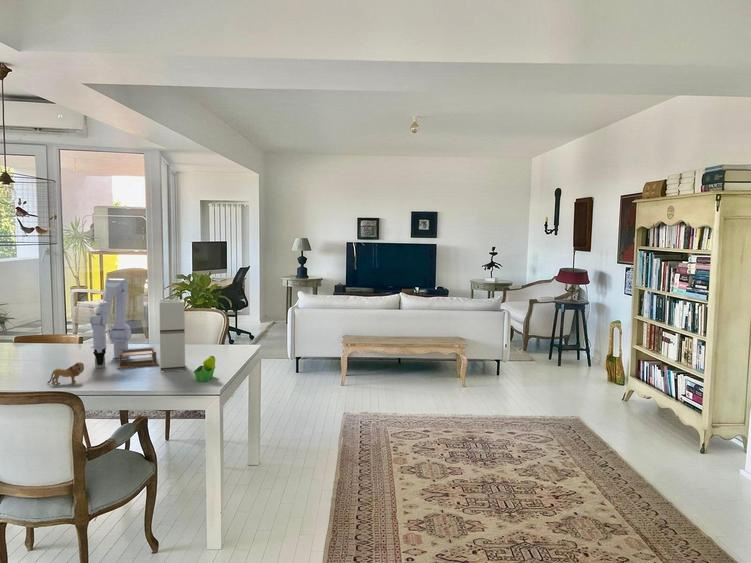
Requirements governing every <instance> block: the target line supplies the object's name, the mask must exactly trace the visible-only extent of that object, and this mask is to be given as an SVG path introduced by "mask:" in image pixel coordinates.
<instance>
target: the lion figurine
mask: <svg viewBox="0 0 751 563" xmlns="http://www.w3.org/2000/svg"><path fill="white" fill-rule="evenodd" d="M84 364H85V363H83V362H80V361H79V362H76V363H75V364H73V365H71V366H69V367H68V368H65V369H64V368H63V369H62V368H56V369H54V370H53V371H52V372H51V376H50V379H49V380H48V381H47V383H46V384H50V383H53V384H55V383H56V385H61V382H59V378H60V376H61V377H63V378H71V383H72V384H76V382H77V381H76V380H75V378H76V377H78V376H80V374H82V373H83V372H84V371H85V366H84Z"/></svg>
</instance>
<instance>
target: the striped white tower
mask: <svg viewBox="0 0 751 563" xmlns="http://www.w3.org/2000/svg"><path fill="white" fill-rule="evenodd" d="M185 327H186V326H185V299H160V300H159V341H160V342H159V347H160V348H159V350H160V351H159V354H160V357H159V359H160V362H159V366H160V372H161V371H168V372H175V371H174V370H182V371H186V352H185V351H186V349H185V348H186V345H185V344H186V341H185V338H186V337H185V334H186V333H185V331H186V330H185Z"/></svg>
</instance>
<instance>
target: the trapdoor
mask: <svg viewBox="0 0 751 563" xmlns="http://www.w3.org/2000/svg"><path fill="white" fill-rule="evenodd" d="M152 354H153V352H152V346H147V347H134V348H133V347H131V348H128V349H123V357H124V358H126V357H125V356H129V357H137V356H147V355H149V356H150V355H152Z"/></svg>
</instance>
